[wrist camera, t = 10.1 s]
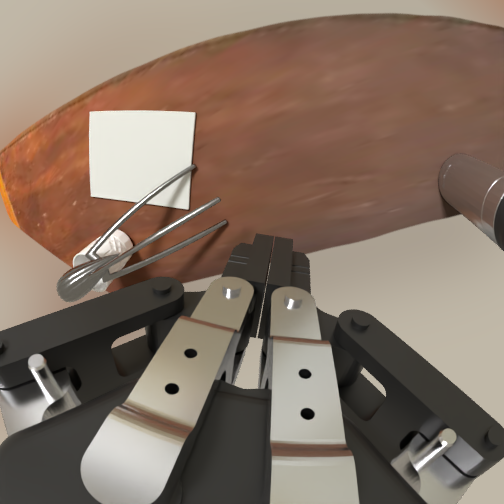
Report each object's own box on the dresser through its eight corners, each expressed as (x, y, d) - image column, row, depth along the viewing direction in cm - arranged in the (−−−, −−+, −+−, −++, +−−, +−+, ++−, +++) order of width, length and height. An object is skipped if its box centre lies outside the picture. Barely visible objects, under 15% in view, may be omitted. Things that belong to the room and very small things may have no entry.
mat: (195, 112, 42) (195, 112, 42) (189, 208, 50) (188, 209, 50) (91, 111, 44) (89, 111, 43) (92, 195, 51) (91, 196, 51)
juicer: (227, 222, 50) (84, 312, 48) (194, 163, 46) (48, 260, 44) (240, 234, 41) (71, 339, 38) (199, 161, 37) (26, 280, 34)
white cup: (119, 266, 58) (92, 296, 50) (97, 234, 55) (66, 262, 47) (143, 253, 55) (115, 285, 46) (120, 219, 52) (87, 247, 43)
